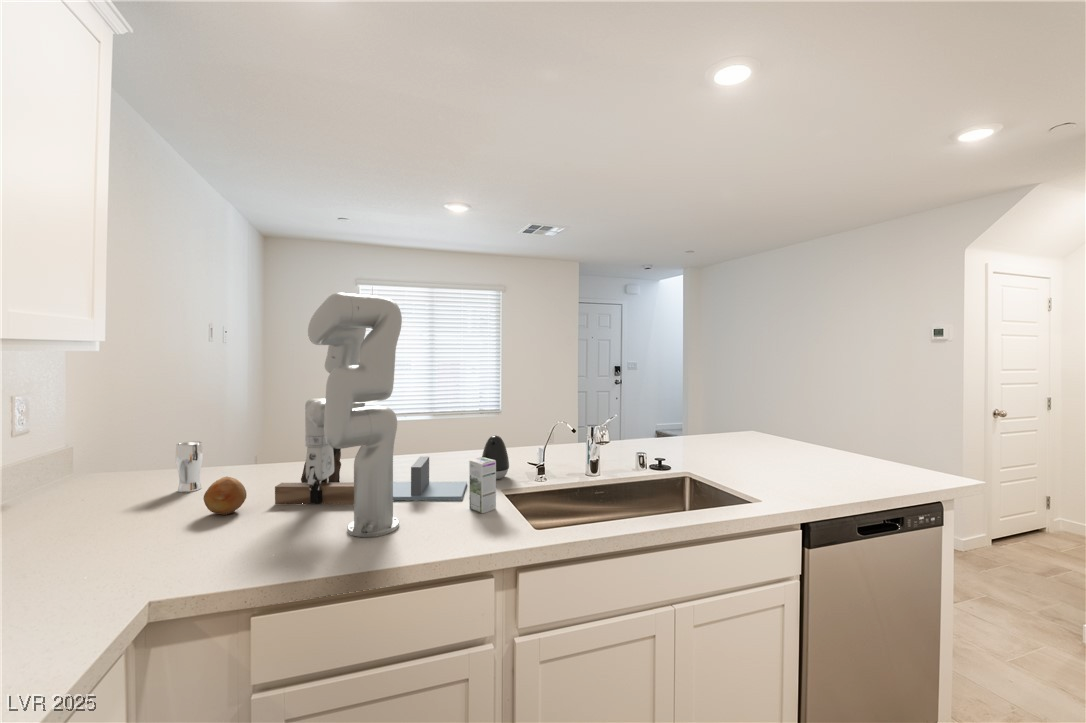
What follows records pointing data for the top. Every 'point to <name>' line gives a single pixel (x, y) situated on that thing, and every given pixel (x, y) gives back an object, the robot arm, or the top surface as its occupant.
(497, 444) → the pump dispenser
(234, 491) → the onion
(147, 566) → the top surface
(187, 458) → the beer glass
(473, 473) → the syrup box
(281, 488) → the walnut bar
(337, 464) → the owl
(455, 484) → the balance stand
